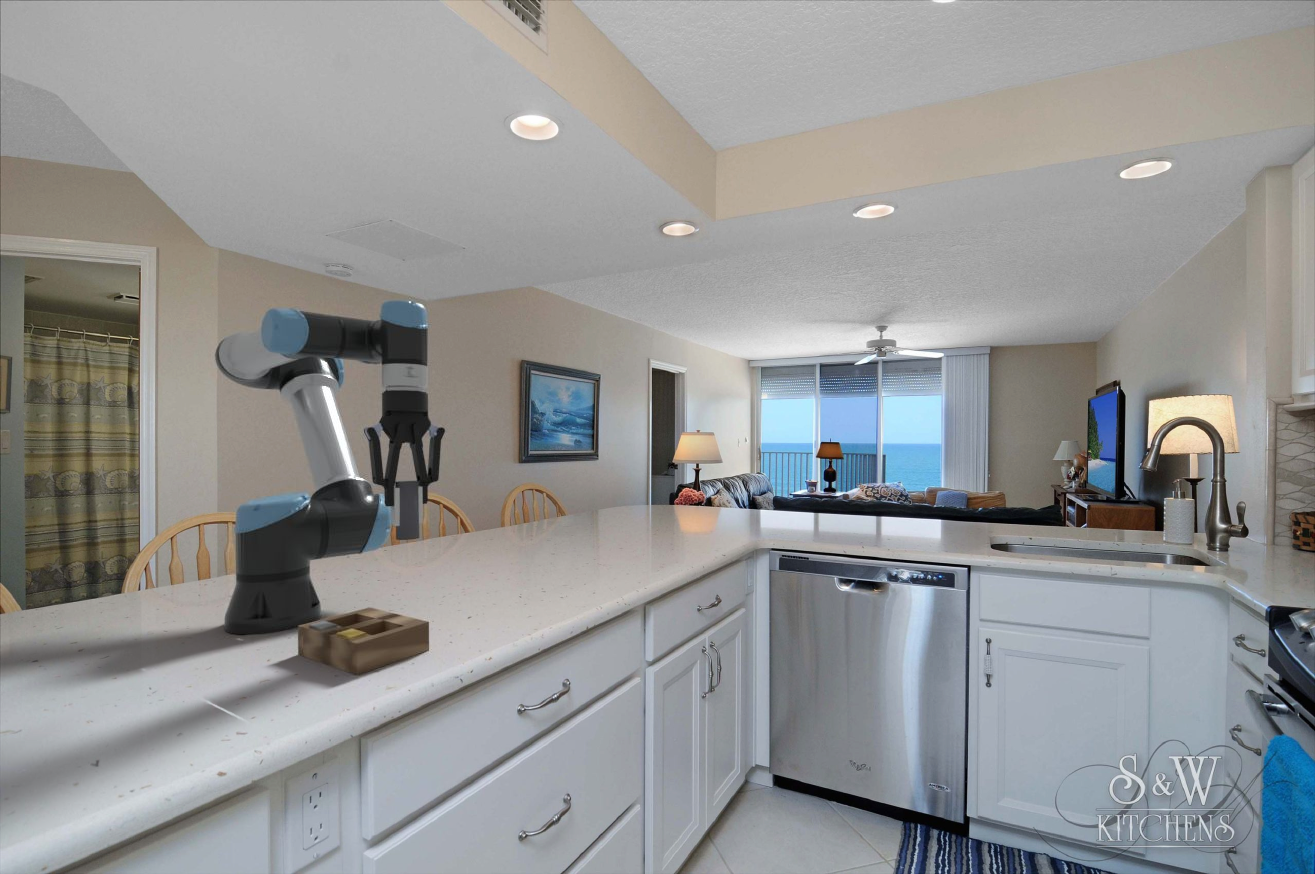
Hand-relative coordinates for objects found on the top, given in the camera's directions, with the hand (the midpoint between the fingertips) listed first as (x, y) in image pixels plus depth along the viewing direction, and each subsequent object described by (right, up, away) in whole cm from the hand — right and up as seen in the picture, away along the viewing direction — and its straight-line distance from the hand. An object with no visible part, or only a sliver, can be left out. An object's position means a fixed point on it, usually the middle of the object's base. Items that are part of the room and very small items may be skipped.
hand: (406, 523), depth 108 cm
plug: (0, -3, 0) cm, 3 cm away
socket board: (-2, -19, -11) cm, 22 cm away
